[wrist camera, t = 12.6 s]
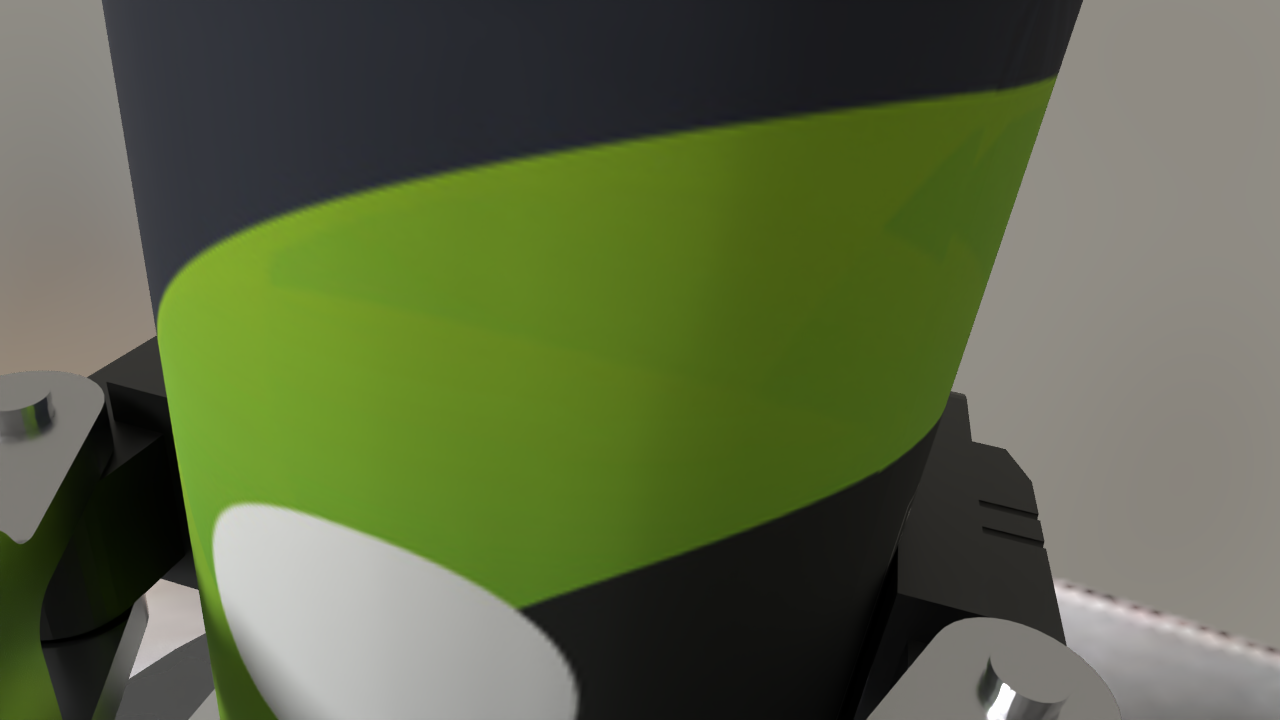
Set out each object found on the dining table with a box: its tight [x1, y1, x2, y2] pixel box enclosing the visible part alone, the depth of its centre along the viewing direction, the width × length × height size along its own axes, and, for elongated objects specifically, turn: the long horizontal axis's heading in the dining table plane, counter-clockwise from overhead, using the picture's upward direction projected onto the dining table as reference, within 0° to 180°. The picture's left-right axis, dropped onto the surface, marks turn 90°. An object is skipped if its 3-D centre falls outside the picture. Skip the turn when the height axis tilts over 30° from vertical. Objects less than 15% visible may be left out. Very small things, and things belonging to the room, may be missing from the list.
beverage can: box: [102, 0, 1083, 720], centre depth 9 cm, size 6×6×15 cm
